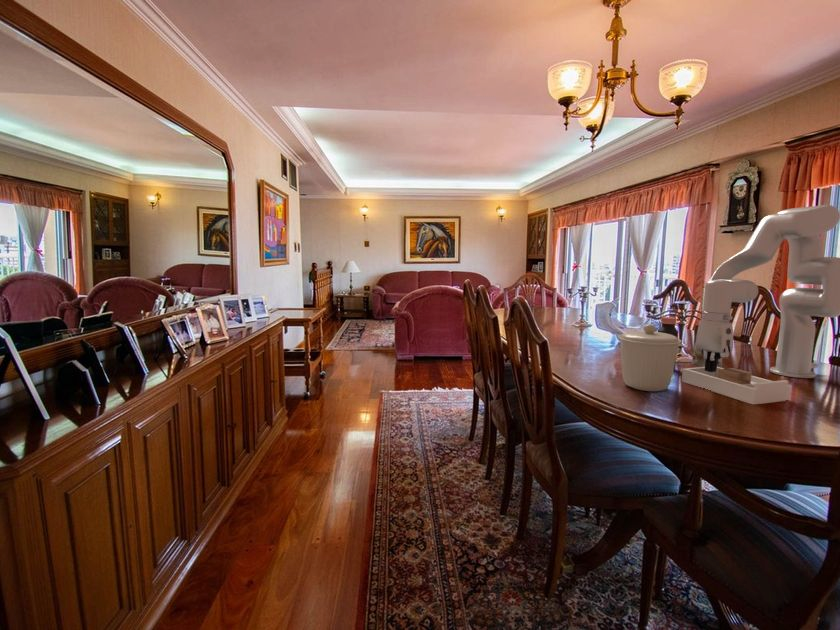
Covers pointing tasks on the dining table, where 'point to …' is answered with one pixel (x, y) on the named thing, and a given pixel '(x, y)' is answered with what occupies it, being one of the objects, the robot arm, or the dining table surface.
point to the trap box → (738, 386)
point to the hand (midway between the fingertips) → (710, 371)
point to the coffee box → (700, 354)
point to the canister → (648, 358)
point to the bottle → (669, 327)
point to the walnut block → (735, 375)
